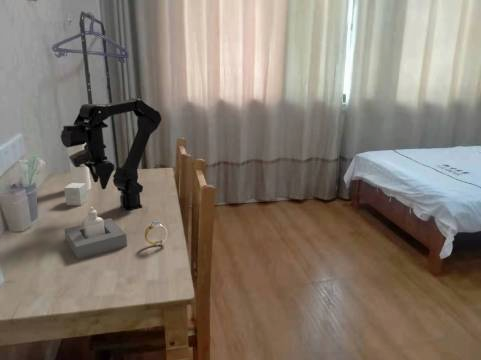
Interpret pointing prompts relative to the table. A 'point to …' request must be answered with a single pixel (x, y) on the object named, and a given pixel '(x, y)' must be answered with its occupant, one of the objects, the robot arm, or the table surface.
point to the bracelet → (152, 228)
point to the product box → (76, 193)
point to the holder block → (95, 239)
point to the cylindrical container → (79, 168)
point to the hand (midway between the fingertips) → (99, 185)
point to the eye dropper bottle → (93, 225)
